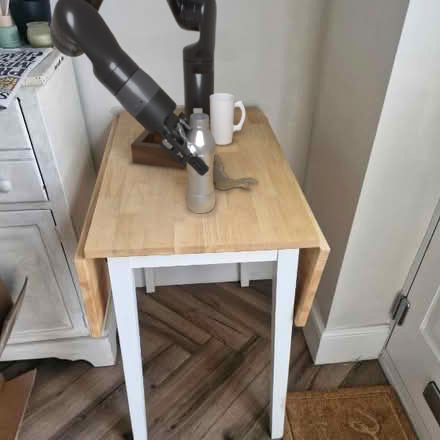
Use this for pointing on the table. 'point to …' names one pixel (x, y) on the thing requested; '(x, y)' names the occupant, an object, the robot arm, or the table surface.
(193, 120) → the silver metal bottle
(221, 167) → the jawbone
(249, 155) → the table surface
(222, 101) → the mug
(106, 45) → the robot arm
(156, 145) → the bottle holder
